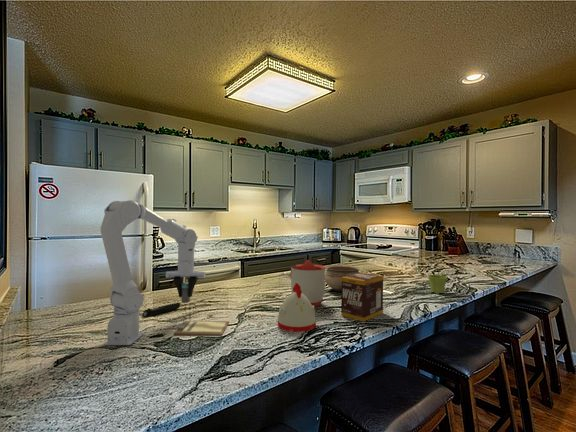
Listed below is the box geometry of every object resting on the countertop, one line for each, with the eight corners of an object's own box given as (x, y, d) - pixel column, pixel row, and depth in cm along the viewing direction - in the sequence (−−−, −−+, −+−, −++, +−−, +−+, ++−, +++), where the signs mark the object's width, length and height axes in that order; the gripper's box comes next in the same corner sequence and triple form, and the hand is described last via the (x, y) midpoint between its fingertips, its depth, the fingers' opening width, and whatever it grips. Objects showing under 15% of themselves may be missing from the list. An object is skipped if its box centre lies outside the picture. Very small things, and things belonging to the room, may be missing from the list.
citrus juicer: (293, 297, 150) (294, 256, 150) (329, 301, 143) (329, 258, 143) (281, 306, 135) (281, 260, 135) (319, 311, 129) (320, 263, 129)
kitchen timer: (283, 333, 105) (283, 289, 105) (274, 320, 118) (274, 280, 118) (321, 329, 108) (321, 286, 108) (308, 317, 122) (308, 279, 122)
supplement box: (340, 315, 124) (340, 276, 124) (361, 307, 134) (361, 271, 134) (363, 322, 116) (363, 280, 116) (383, 313, 127) (383, 275, 127)
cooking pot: (372, 294, 158) (372, 270, 158) (343, 298, 149) (343, 273, 149) (341, 284, 180) (341, 263, 180) (314, 287, 171) (314, 265, 171)
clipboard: (222, 335, 102) (222, 331, 102) (173, 335, 102) (173, 330, 102) (228, 322, 114) (228, 319, 114) (185, 322, 114) (185, 318, 114)
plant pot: (428, 294, 158) (428, 277, 158) (426, 290, 167) (426, 274, 167) (448, 295, 156) (449, 278, 156) (445, 291, 165) (445, 275, 165)
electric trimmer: (182, 310, 131) (182, 302, 131) (146, 318, 119) (146, 310, 119) (177, 308, 133) (177, 301, 133) (141, 316, 121) (141, 308, 121)
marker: (188, 302, 116) (188, 284, 116) (180, 302, 116) (180, 284, 115) (191, 300, 119) (191, 282, 119) (182, 300, 119) (183, 282, 119)
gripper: (207, 259, 121) (207, 293, 121) (170, 258, 121) (170, 293, 121) (202, 261, 114) (202, 298, 114) (163, 261, 114) (163, 298, 114)
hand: (185, 296), depth 117 cm, fingers closed on marker, 3 cm apart
